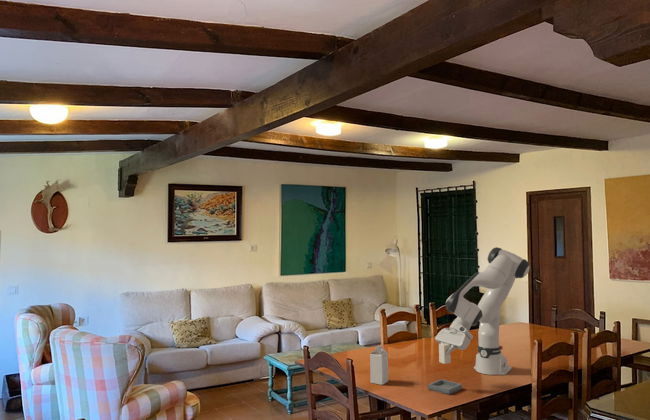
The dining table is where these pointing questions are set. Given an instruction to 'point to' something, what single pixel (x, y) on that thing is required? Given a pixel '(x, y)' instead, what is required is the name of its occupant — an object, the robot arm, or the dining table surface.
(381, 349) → the milk carton
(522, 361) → the dining table surface
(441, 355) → the cream block
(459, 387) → the grey tray
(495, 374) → the robot arm
